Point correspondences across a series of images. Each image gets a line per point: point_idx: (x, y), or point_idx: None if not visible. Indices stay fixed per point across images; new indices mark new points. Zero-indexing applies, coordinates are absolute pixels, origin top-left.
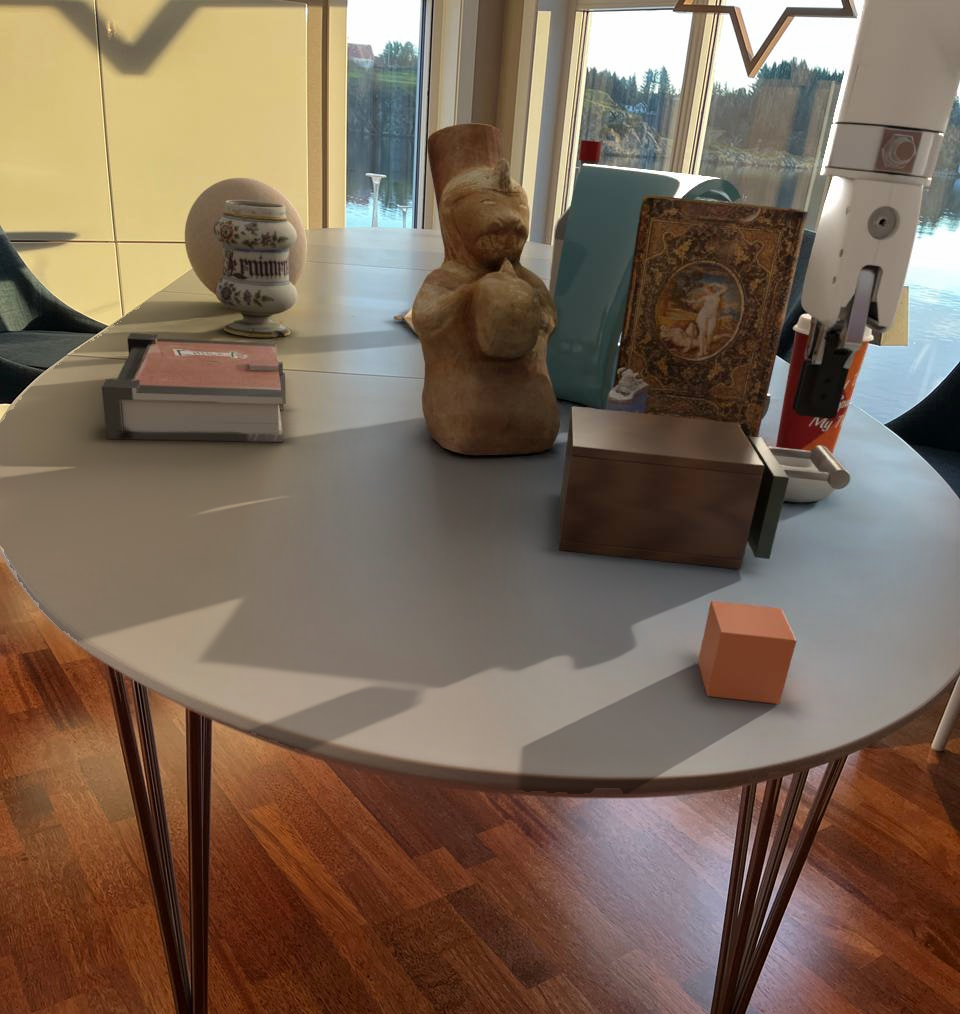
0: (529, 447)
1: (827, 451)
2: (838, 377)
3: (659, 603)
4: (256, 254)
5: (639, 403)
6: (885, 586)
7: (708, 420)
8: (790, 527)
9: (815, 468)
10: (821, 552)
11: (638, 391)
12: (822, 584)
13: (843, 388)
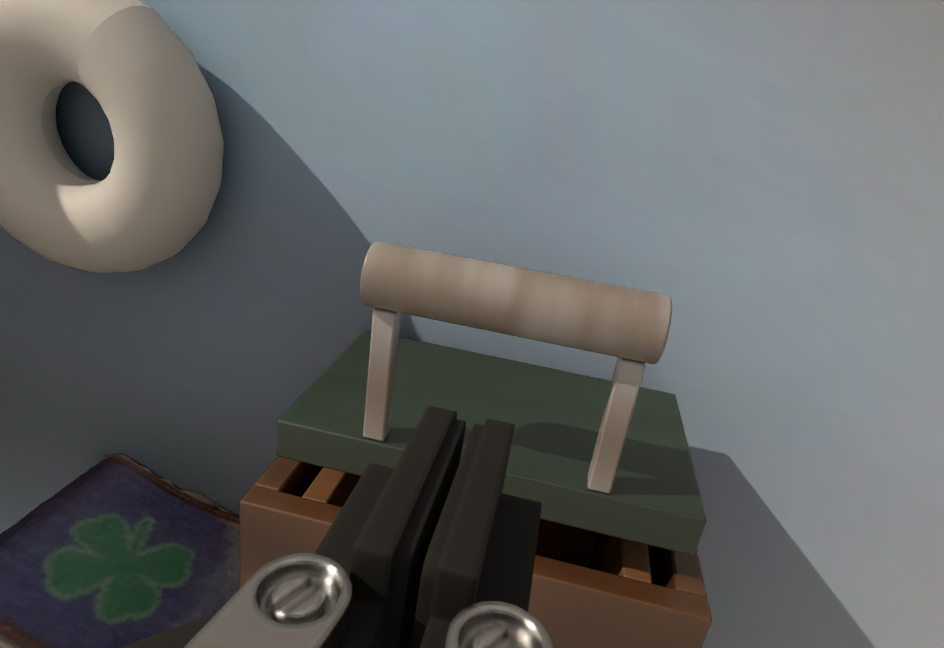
0: None
1: (438, 294)
2: (527, 604)
3: (829, 631)
4: None
5: (24, 596)
6: (778, 118)
7: (246, 576)
8: (394, 215)
9: (116, 83)
10: (556, 201)
11: (20, 644)
12: (757, 286)
13: (496, 500)
